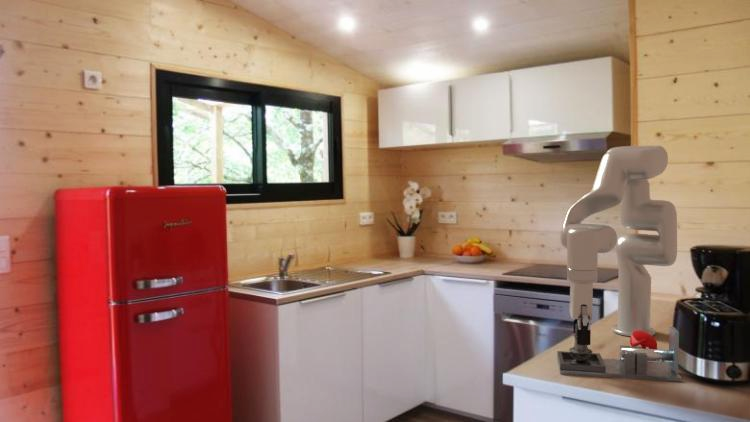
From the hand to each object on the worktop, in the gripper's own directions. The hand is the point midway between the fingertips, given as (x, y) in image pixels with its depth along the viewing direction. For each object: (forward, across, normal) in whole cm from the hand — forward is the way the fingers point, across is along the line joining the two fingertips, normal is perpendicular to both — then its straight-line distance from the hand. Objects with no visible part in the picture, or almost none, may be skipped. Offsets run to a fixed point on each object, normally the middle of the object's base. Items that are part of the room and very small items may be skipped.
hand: (581, 339), depth 158 cm
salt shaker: (+7, 0, 0) cm, 7 cm away
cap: (+8, -17, +19) cm, 27 cm away
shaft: (+6, +1, +16) cm, 17 cm away
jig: (+8, +1, +9) cm, 12 cm away
